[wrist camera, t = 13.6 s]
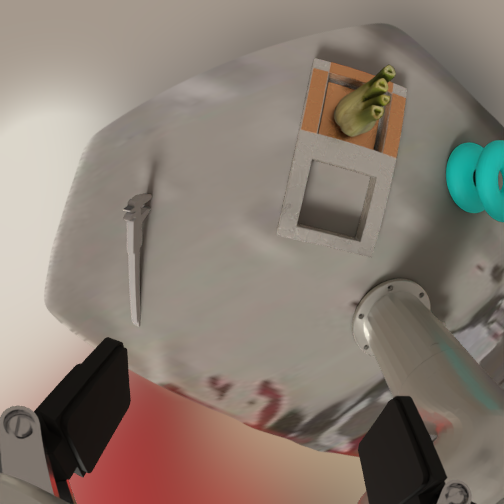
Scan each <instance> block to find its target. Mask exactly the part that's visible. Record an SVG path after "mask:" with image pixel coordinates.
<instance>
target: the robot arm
mask: <svg viewBox="0 0 504 504" xmlns="http://www.w3.org/2000/svg"><path fill="white" fill-rule="evenodd" d="M388 286H389V287H388ZM359 314H360V315H359ZM352 331H353V336H354V338H355V341H356V343H357V345H358V346H359V348H360V349H361V350H362V351H364V352H365V353H367V354H369V355H372V356H375V358H376V360H377V362H378V364H379V367H380V369H381V371H382V373H383V375H384V378H385V380H386V382H387V384H388V387H389V389H390V391H391V393H392V396H393V399H391V400H390V401H389V402H388V403H387V405H386V406H385V408H384V410H383V411H382V413H381V414H380V415H379V417H378V418H377V420H376V421H375V423H374V424H373V426H372V427H371V428H370V430H369V431H368V433H367V434H366V435H365V437H364V438H363V439H362V441H361V442H360V444H359V447H358V452H359V456H360V461H361V465H362V471H363V475H364V481H365V486H366V492H365V493H364V494H363V496H362V497H361V498H360V500H359V502H358V504H504V390H503V389H502V388H501V387H500V386H499V385H498V384H497V383H496V382H495V381H494V380H493V379H492V378H491V377H490V376H489V375H488V374H487V373H486V372H485V371H484V370H483V368H482V367H481V366H480V365H479V364H478V363H477V362H476V361H475V359H474V358H473V357H472V356H471V355H470V354H469V353H468V351H467V350H466V349H465V348H464V347H463V346H462V345H461V344H460V342H459V341H458V340H457V339H456V338H455V337H454V336H453V335H452V334H451V333H450V331H449V330H448V329H447V328H446V323H445V322H442V321H439V320H438V319H437V318H436V317H435V315H434V314H433V313H432V312H431V304H430V300H429V297H428V295H427V293H426V291H425V290H424V289H423V288H422V287H421V286H420V285H418V284H417V283H416V282H414V281H412V280H408V279H393V280H388V281H386V282H383V283H381V284H379V285H378V286H376V287H374V288H373V289H372V290H371V291H369V292H368V293H367V294H366V295H365V297H364V298H363V299H362V300H361V302H360V303H359V305H358V306H357V308H356V311H355V313H354V317H353V321H352ZM130 401H131V400H130V388H129V375H128V355H127V349H126V348H124V346H123V343H122V342H120V341H117V340H114V339H111V338H109V337H107V338H105V339H104V340H103V341H102V342H101V343H100V344H99V345H98V346H97V347H96V349H95V350H94V351H93V352H92V353H91V354H90V355H89V356H88V357H87V358H86V359H85V360H84V362H83V363H82V364H78V365H76V366H75V367H74V368H73V369H72V370H71V371H70V372H69V373H68V374H67V375H66V376H65V378H64V379H63V380H62V381H61V382H60V383H59V384H58V385H57V386H56V387H55V389H54V390H53V391H52V392H51V393H50V394H49V395H48V397H46V399H45V400H44V401H43V402H42V403H41V404H40V405H39V407H38V408H37V409H36V410H35V411H34V412H33V411H32V410H30V409H29V408H26V407H24V406H13V407H10V408H8V409H6V410H5V411H4V412H3V413H2V415H1V417H0V504H77V503H76V500H75V497H74V494H73V492H72V489H71V485H70V482H69V479H70V478H71V476H72V475H73V473H76V474H77V475H79V476H81V477H84V475H85V474H86V472H87V473H91V472H92V470H93V469H94V467H95V465H96V463H97V462H98V460H99V458H100V456H101V454H102V453H103V451H104V449H105V447H106V446H107V444H108V442H109V441H110V439H111V437H112V435H113V434H114V432H115V430H116V428H117V427H118V425H119V423H120V422H121V420H122V418H123V416H124V415H125V413H126V411H127V409H128V408H129V405H130ZM430 435H435V436H437V438H436V440H435V441H434V442H432V440H431V438H430Z"/></svg>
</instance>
